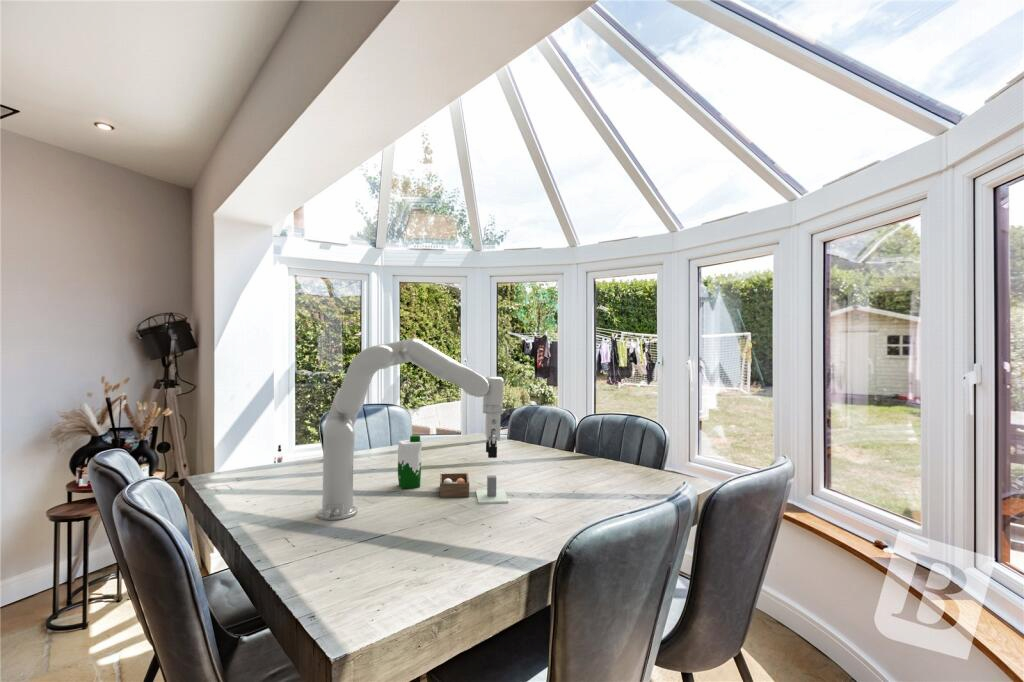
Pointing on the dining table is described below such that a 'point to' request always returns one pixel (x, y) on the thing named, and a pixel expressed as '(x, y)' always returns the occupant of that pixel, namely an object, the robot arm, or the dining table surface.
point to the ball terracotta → (460, 480)
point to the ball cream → (447, 481)
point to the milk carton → (409, 462)
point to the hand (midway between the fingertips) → (491, 454)
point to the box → (454, 485)
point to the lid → (491, 493)
